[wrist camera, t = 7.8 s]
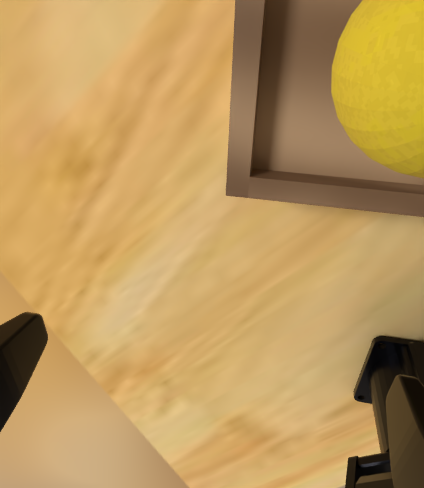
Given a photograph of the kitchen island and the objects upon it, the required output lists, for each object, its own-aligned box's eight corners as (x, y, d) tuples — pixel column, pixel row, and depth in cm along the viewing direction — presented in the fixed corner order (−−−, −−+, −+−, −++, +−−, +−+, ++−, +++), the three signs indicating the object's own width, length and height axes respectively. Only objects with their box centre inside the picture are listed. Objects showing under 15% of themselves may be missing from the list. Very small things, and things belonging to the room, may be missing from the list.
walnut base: (479, 186, 18) (517, 227, 15) (237, 163, 20) (225, 195, 17) (637, -162, 12) (766, -224, 9) (258, -151, 14) (245, -198, 10)
